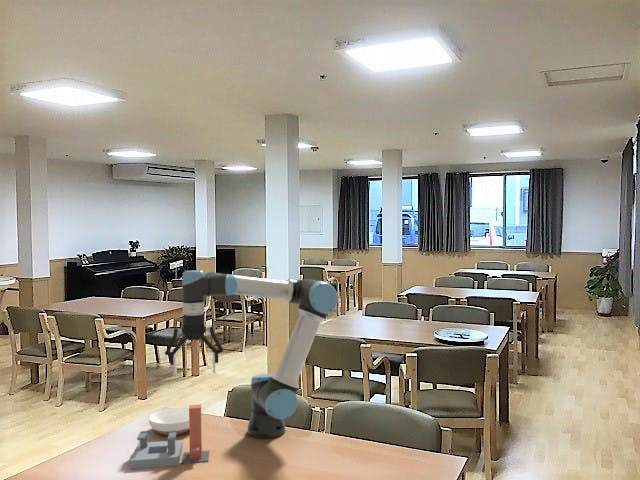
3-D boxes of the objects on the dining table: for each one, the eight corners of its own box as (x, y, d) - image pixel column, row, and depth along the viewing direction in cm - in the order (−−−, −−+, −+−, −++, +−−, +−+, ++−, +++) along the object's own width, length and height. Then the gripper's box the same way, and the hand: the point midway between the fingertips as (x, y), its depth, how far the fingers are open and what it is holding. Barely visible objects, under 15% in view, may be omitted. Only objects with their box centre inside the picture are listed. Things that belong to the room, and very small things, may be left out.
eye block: (182, 447, 213) (182, 425, 213) (178, 465, 197) (178, 441, 197) (138, 451, 211) (137, 428, 210) (130, 469, 195) (130, 445, 195)
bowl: (192, 439, 222) (192, 423, 222) (142, 439, 222) (142, 423, 222) (203, 422, 242) (203, 407, 241) (157, 422, 242) (157, 407, 242)
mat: (209, 451, 209) (209, 450, 209) (208, 461, 200) (208, 460, 200) (184, 453, 208) (184, 452, 208) (181, 463, 199) (181, 462, 199)
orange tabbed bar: (191, 450, 209) (190, 401, 209) (202, 449, 210) (201, 401, 210) (189, 463, 198) (188, 412, 198) (200, 462, 199) (199, 411, 198)
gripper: (156, 316, 197) (157, 377, 198) (229, 314, 201) (230, 373, 202) (158, 313, 205) (160, 372, 205) (229, 311, 208) (230, 368, 209)
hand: (194, 373), depth 203 cm, fingers open, 13 cm apart
